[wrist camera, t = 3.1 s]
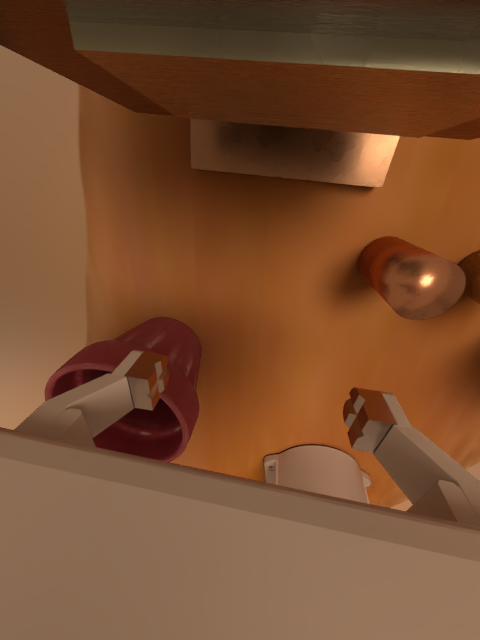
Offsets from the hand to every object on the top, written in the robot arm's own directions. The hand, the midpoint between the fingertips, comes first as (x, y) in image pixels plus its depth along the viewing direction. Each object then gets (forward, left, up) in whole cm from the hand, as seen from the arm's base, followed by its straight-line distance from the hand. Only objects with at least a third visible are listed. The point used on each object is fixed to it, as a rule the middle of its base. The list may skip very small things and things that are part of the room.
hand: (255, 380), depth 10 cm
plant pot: (-13, +12, -17) cm, 25 cm away
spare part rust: (+2, -11, -17) cm, 20 cm away
